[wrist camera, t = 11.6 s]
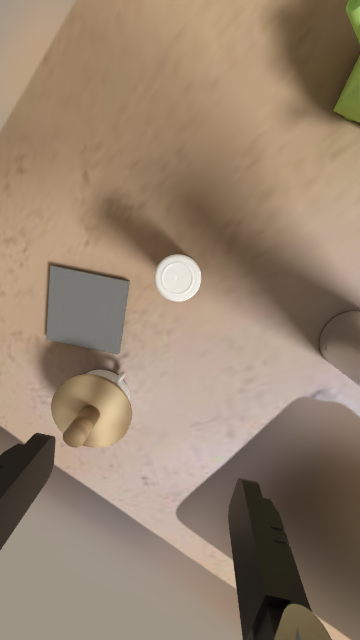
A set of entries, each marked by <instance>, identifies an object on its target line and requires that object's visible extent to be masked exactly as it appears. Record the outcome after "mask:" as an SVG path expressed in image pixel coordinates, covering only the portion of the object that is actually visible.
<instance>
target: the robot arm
mask: <svg viewBox="0 0 360 640" xmlns="http://www.w3.org/2000/svg"><path fill="white" fill-rule="evenodd" d="M319 346H320V351H321V353H322V355H323V357H324V358H325V359H326V360H327V361H328V362H329V363H331V364H332V365H333V366H334V367H336V368H337V369H338V370H340V371H341V372H342V373H343V374H345V375H346V376H347V377H348V378H350V379H351V380H352V381H354V382H355V383H356V384H358V385H359V386H360V311H349V312H345V313H342V314H339V315H338V316H336V317H334V318H333V319H332V320H331V321H330V322H328V323H327V325H326V326H325V327H324V329H323V331H322V333H321V336H320V343H319ZM54 453H55V437H54V436H50V435H45V434H41V433H36V434H34V435H33V436H32V437H31V438H30V439H29V440H28V441H27V442H26V444H25V445H23V444H17V445H15V446H13V447H12V448H10V449H8V450H7V451H5V452H3V453H2V454H1V455H0V550H1V548H2V547H3V545H4V544H5V543H6V541H7V539H8V538H9V537H10V535H11V534H12V532H13V531H14V529H15V528H16V526H17V525H18V523H19V522H20V520H21V519H22V517H23V516H24V514H25V513H26V511H27V510H28V509H29V507H30V505H31V504H32V503H33V501H34V500H35V498H36V497H37V495H38V494H39V492H40V491H41V489H42V488H43V486H44V485H45V483H46V482H47V480H48V478H49V476H50V474H51V472H52V469H53V465H54ZM228 514H229V515H228V520H229V530H230V538H231V546H232V554H233V562H234V571H235V579H236V587H237V595H238V603H239V611H240V619H241V628H242V636H243V640H332V639H331V637H330V635H329V633H328V632H327V630H326V628H325V627H324V625H323V624H322V623H321V621H320V620H319V619H318V618H317V617H316V616H315V614H313V612H312V610H311V608H310V605H309V603H308V600H307V597H306V594H305V591H304V588H303V585H302V582H301V579H300V576H299V572H298V569H297V566H296V563H295V560H294V557H293V554H292V551H291V548H290V547H289V542H288V539H287V536H286V533H285V532H284V527H283V524H282V520H281V517H280V515H279V513H278V511H277V510H276V508H275V506H274V505H273V503H272V502H271V500H269V499H265V498H263V497H262V494H261V490H260V486H259V484H258V482H257V481H252V480H247V479H243V478H239V479H238V480H237V484H236V487H235V489H234V492H233V496H232V499H231V502H230V505H229V513H228Z"/></svg>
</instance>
